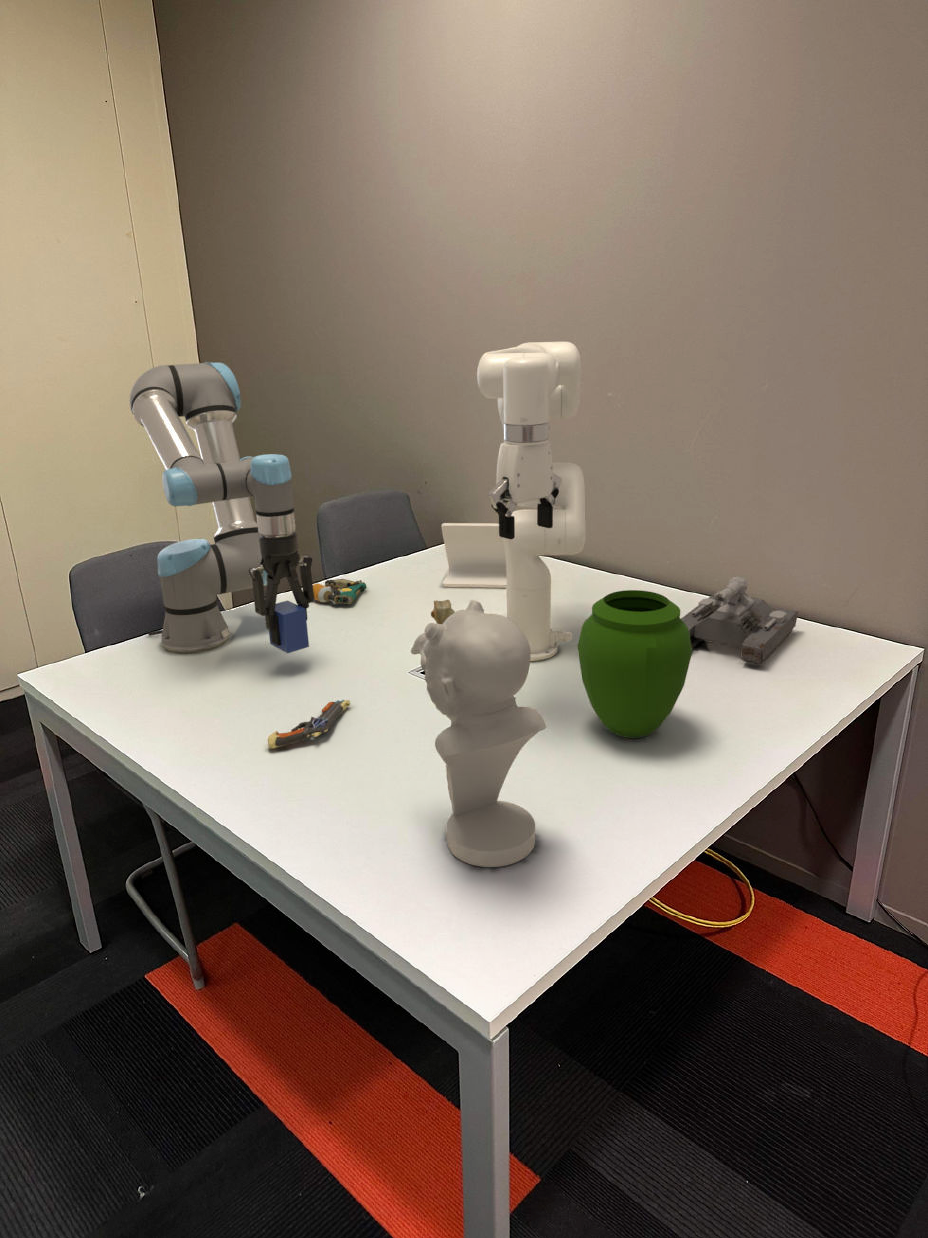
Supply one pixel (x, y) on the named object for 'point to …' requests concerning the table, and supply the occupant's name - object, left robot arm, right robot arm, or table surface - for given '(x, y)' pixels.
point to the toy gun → (309, 726)
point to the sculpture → (441, 611)
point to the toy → (740, 622)
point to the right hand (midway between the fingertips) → (526, 532)
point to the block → (291, 627)
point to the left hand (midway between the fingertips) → (288, 639)
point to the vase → (634, 660)
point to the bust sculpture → (481, 729)
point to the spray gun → (338, 590)
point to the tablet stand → (474, 555)
